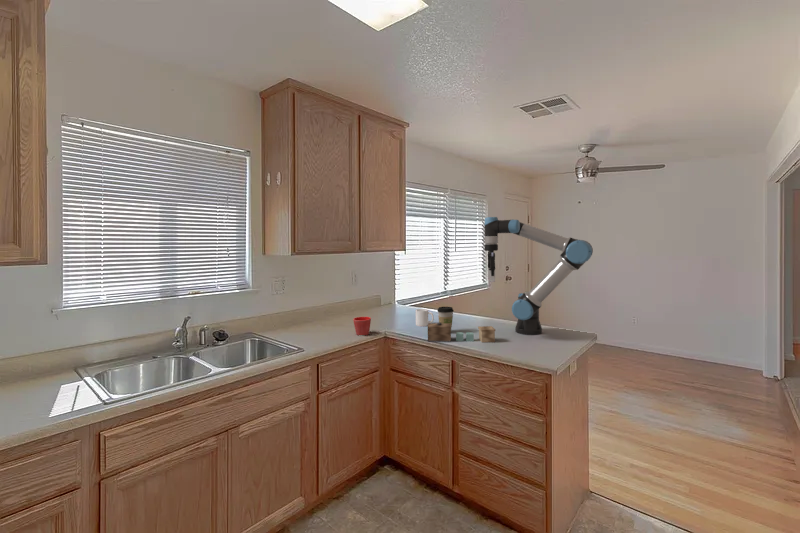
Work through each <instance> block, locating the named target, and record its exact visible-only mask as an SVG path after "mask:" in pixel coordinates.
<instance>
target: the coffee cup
mask: <svg viewBox="0 0 800 533" xmlns="http://www.w3.org/2000/svg"><path fill="white" fill-rule="evenodd" d="M453 313H454V308H453V306H438V307H437V316H438V322H440V323H441V324H451V328H452V327H453V317H454V314H453Z"/></svg>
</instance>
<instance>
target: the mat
mask: <svg viewBox="0 0 800 533" xmlns="http://www.w3.org/2000/svg"><path fill="white" fill-rule="evenodd" d="M428 342H429V343H431V342H432V343H436V342H437V343H450V341H428Z"/></svg>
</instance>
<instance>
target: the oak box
mask: <svg viewBox="0 0 800 533" xmlns="http://www.w3.org/2000/svg"><path fill="white" fill-rule="evenodd" d="M477 328H478V340H479V342H481V343H495V342H496V341H495V340H496V338H495V336H496V328H494V326H491V325H490V326H488V325H486V326H477Z"/></svg>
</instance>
